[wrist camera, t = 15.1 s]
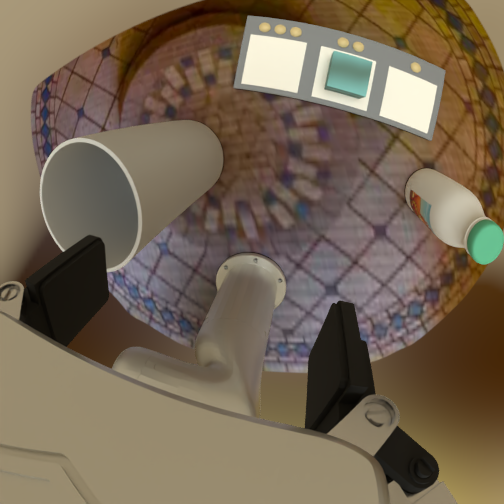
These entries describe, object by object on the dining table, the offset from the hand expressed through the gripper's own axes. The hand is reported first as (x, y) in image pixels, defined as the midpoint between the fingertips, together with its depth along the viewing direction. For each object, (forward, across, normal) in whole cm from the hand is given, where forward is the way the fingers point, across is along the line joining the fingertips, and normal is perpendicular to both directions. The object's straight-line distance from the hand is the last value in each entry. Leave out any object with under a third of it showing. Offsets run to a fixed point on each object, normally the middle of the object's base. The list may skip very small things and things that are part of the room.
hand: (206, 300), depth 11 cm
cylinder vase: (+35, +14, +2) cm, 38 cm away
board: (+34, -6, -16) cm, 39 cm away
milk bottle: (+35, -24, -3) cm, 42 cm away
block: (+33, -6, -15) cm, 37 cm away
